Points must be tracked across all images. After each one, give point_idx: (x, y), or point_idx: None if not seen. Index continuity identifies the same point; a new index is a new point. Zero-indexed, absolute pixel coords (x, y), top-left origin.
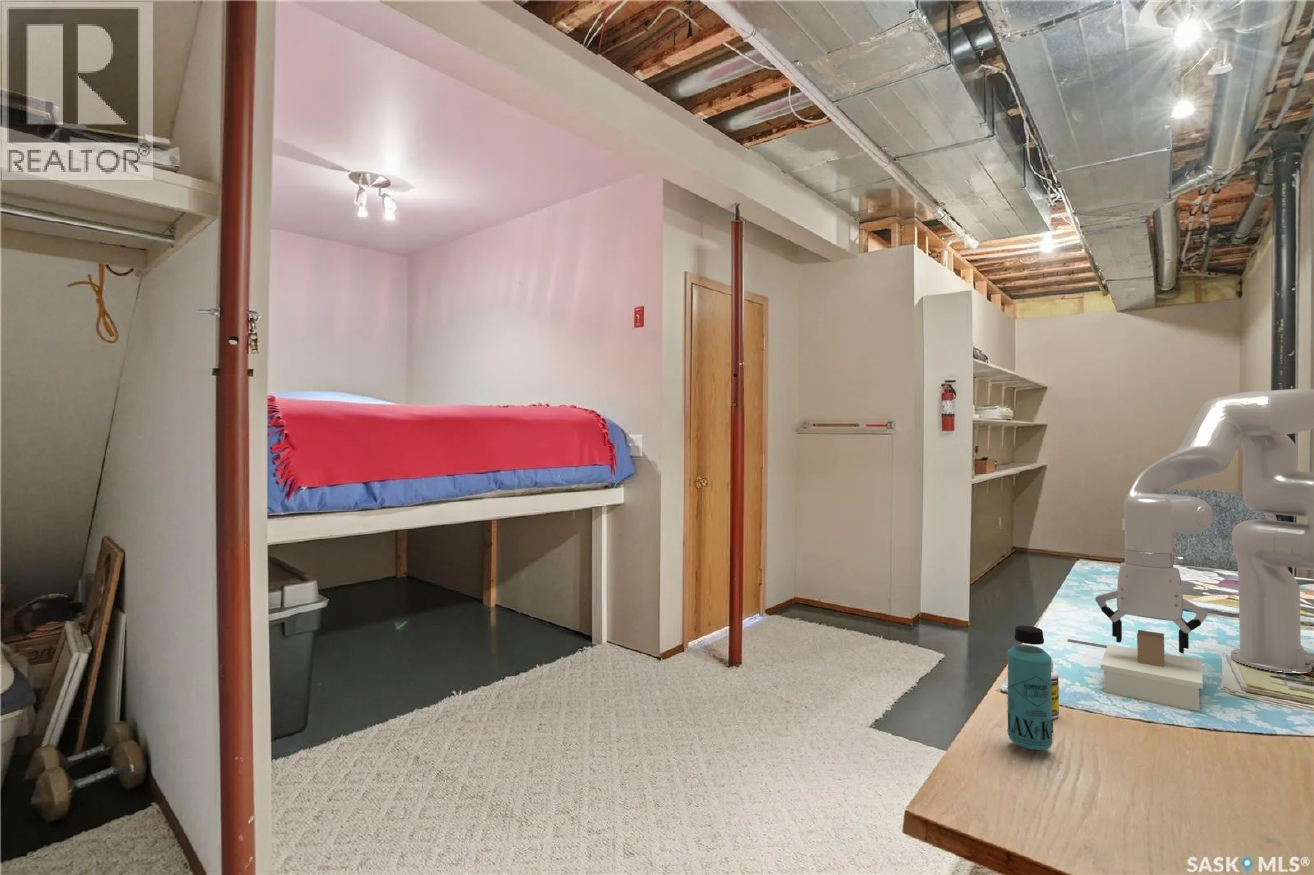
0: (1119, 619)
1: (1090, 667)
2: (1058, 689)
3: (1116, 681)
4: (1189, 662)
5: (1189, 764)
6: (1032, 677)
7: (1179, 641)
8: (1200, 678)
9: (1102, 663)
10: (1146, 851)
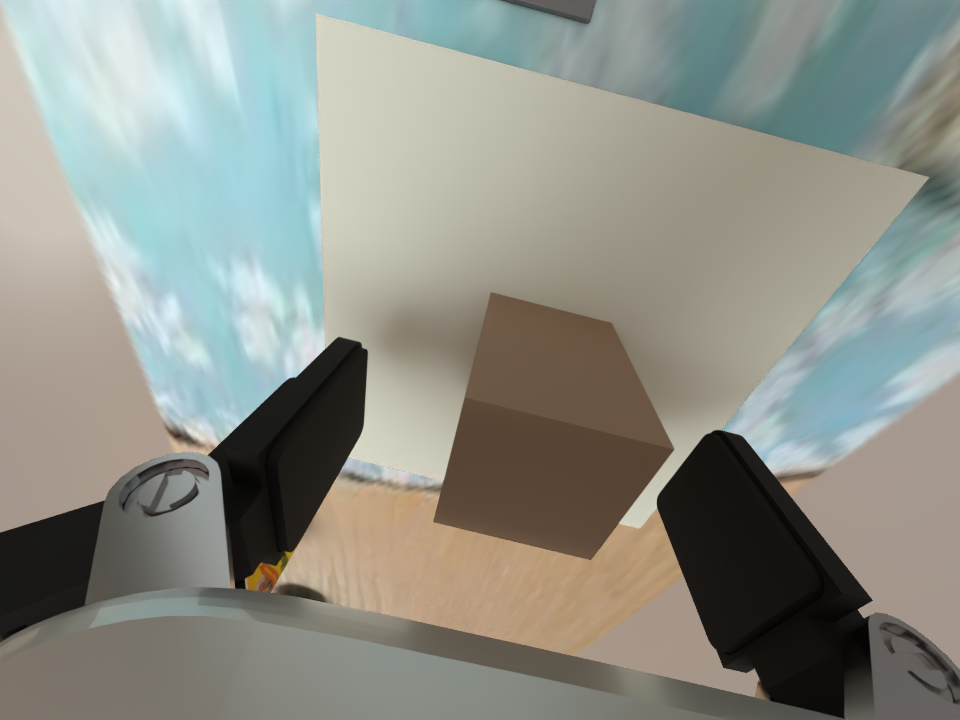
0: (251, 574)
1: (313, 11)
2: (274, 579)
3: None
4: (768, 287)
5: (496, 594)
6: None
7: (686, 575)
8: None
9: None
10: None
